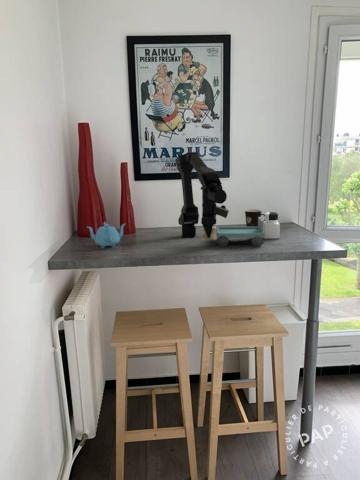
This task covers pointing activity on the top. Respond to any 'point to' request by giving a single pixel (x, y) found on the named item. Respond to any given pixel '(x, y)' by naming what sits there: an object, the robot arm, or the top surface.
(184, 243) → the top surface
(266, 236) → the medicine bottle
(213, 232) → the block
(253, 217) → the coffee mug
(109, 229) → the teapot
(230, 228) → the teal toy wagon
